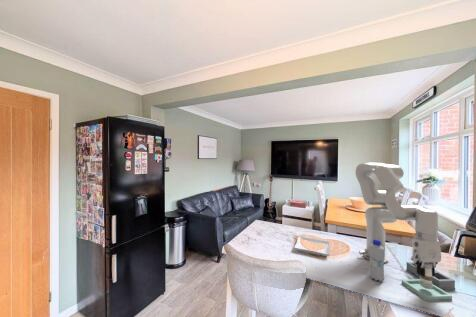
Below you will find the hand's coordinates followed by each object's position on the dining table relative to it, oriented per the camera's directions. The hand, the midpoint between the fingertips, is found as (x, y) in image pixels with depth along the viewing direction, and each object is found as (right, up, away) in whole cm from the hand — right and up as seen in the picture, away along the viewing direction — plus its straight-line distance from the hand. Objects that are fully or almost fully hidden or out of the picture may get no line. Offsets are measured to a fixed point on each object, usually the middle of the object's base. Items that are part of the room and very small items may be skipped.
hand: (425, 274), depth 91 cm
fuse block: (+11, -8, +10) cm, 17 cm away
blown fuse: (0, -5, 0) cm, 5 cm away
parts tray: (0, -8, 0) cm, 8 cm away
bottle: (-17, -8, +9) cm, 21 cm away
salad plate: (-37, -8, +42) cm, 56 cm away
